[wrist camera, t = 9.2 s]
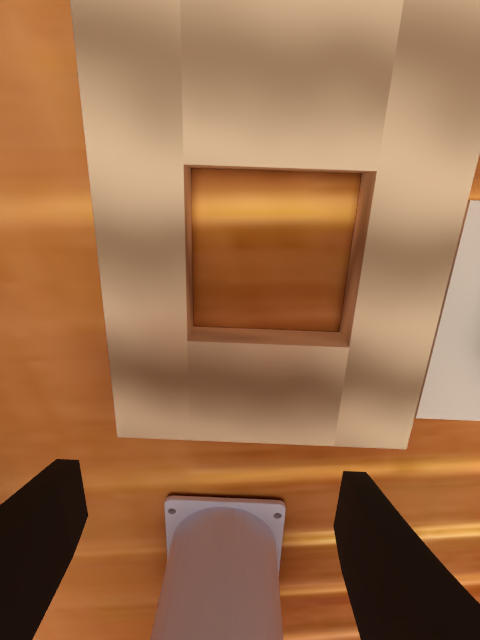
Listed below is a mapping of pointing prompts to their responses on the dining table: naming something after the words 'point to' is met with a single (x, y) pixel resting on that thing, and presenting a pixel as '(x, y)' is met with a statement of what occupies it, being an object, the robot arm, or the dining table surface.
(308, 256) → the dining table surface
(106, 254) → the pocket board
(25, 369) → the dining table surface
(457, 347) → the felt pad
